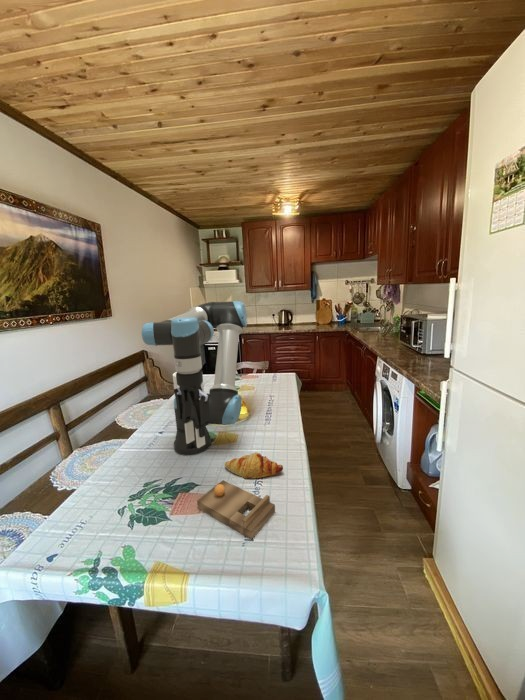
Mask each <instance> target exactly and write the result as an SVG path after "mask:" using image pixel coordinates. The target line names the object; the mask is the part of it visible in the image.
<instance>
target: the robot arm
mask: <svg viewBox="0 0 525 700" xmlns="http://www.w3.org/2000/svg"><path fill="white" fill-rule="evenodd" d="M247 326H248V316H247V309H246V307H245V303H244V302H243V301H238V300H231V301H209V302H204V303H202V304H198V305H195V306H193V307H191V308H190V309H188V311H186V312H184V313H181V314H179V315H176V316H174V317H171V318H168V319H165V320H162V321H159V322H158V321H156V322H155V321H152V322H147V323H144V325H143V326H142V329H141V338H142V341H143V342H144V344H146V345H147V346H155V347H157V346H172V347H173V357H174V365H175V366H174V367H175V372H177V373H176V380H177V385H178V386H180V387H179V388H176V389H174V388H173V393H174V398H173V410H174V417H175V424H176V425H175V426H176V427H175V428H176V434H175V439H174V443H173V448H174V451H175V453H176V454H178V455H179V454H180V455H183V456H193V455H198V454H200V453H203V452H205V451H207V450H208V449H209V448H210V447H211V445H212V437H211V435H210V432H209V430H208V428H207V426H210V425H223V426H226V425H235V424H236V423H237V422H238V420H239V418H240V416H241V411H242V406H243V405H242V402H243V401H242V399H243V398H242V396H241V395H240V394H239V391H238V389H237V388H236V375H237V361H238V351H239V337H240V335H241V334H242V333H243V329H244V328H247ZM215 328H216V329H215ZM214 329H215V330H216V331H217V332H218V333H219V335H218V344H217V351H216V353H217V354H216V362H215V371H214V380H213V381H214V382H213V386H212V387H211V388H209V391H208V393H205V392H204V393H203V391H202V388H201V384H202V382H203V383H204V375H202V373H203V370H202V369H203V365H202V364H203V363H202V354H201V352H202V351H201V346H202V345H204V344H207V343H208V342H209V341H210V340H212V338H213V336H214V332H215V331H214ZM175 396H176V397H175Z"/></svg>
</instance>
